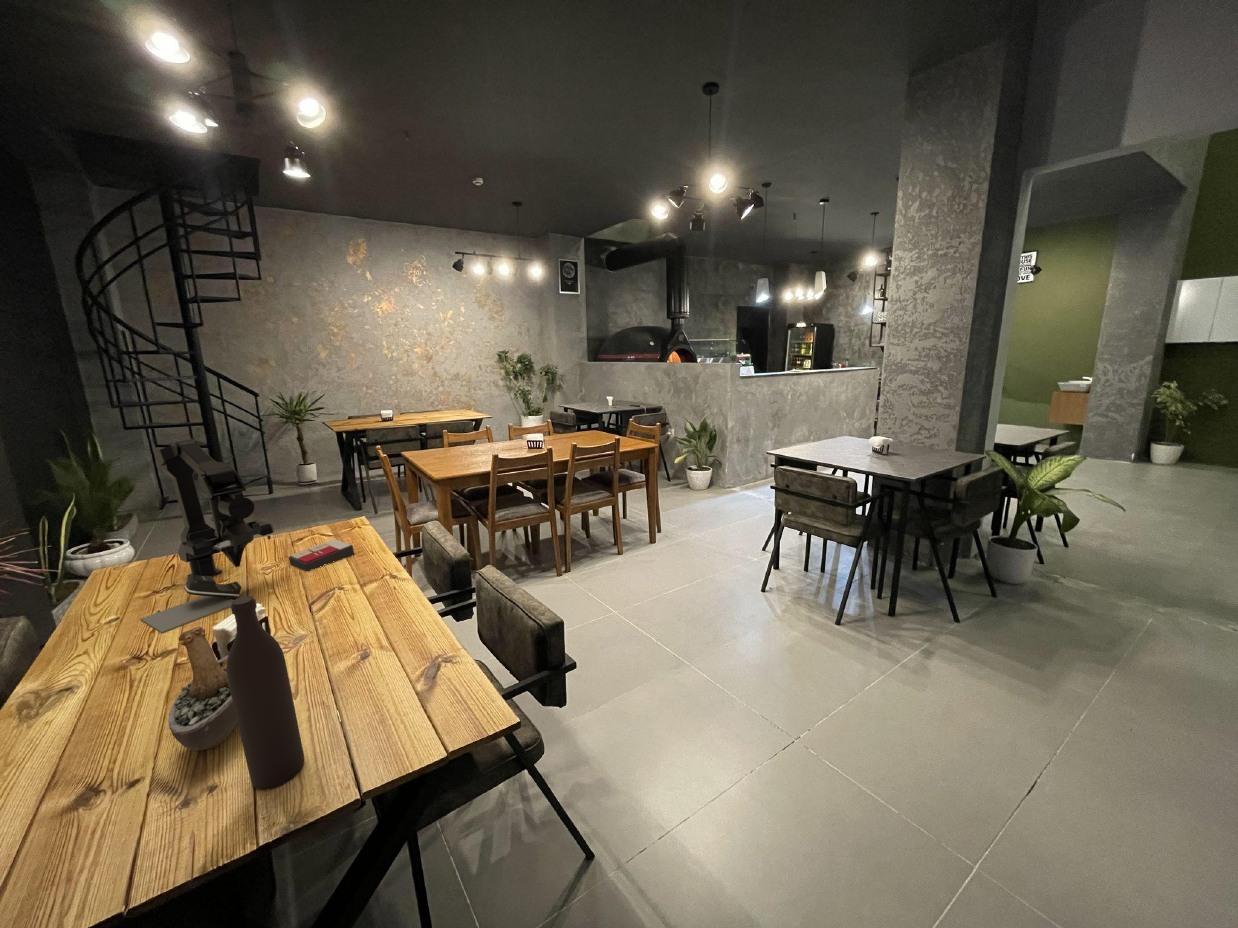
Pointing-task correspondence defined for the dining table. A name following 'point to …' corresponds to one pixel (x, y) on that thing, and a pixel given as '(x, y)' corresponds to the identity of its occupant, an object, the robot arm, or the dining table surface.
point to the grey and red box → (321, 555)
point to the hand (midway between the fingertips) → (237, 566)
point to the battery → (211, 587)
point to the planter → (203, 697)
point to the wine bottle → (263, 701)
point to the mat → (186, 612)
